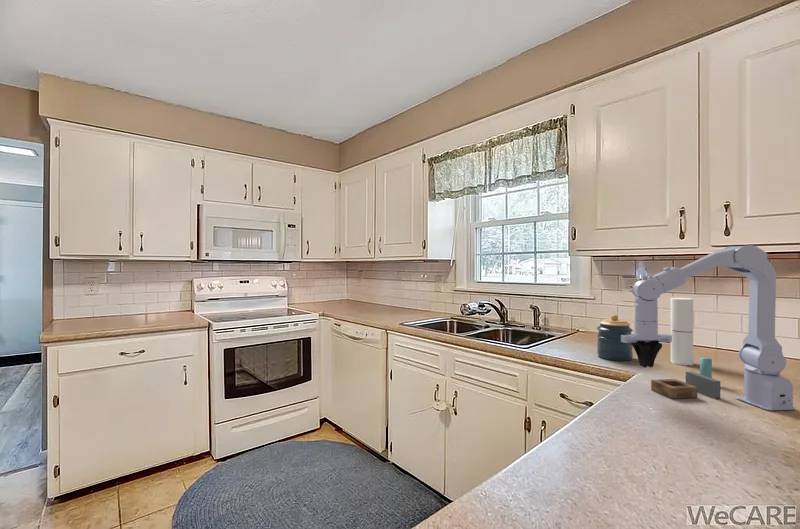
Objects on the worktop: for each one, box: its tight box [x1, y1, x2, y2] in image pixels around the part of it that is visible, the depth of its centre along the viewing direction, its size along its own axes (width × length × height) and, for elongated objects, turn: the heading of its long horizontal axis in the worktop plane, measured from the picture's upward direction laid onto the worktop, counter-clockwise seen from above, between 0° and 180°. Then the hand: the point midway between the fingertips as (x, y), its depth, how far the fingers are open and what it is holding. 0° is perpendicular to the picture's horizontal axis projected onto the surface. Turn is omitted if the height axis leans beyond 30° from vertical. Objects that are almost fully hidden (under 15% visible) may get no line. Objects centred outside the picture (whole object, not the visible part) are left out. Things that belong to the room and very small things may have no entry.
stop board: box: [685, 371, 721, 399], centre depth 116 cm, size 10×2×5 cm, turn 4°
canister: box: [596, 314, 634, 362], centre depth 160 cm, size 13×13×18 cm
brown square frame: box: [650, 378, 699, 399], centre depth 116 cm, size 8×8×3 cm
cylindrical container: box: [669, 297, 694, 366], centre depth 150 cm, size 7×7×25 cm
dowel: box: [699, 356, 713, 379], centre depth 125 cm, size 3×3×8 cm
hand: (646, 366), depth 115 cm, fingers closed
